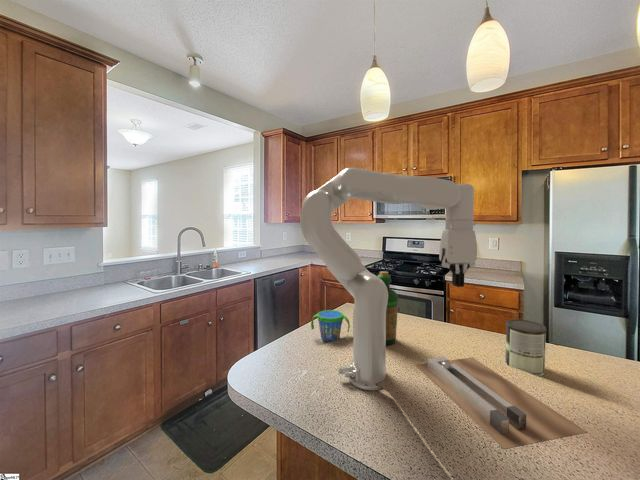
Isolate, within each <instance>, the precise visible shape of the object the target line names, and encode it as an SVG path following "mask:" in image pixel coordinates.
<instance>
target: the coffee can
mask: <svg viewBox="0 0 640 480" xmlns="http://www.w3.org/2000/svg"><path fill="white" fill-rule="evenodd" d="M505 326H506V327H505V328H506V333H505V336H506V338H505V362H504V363H505V365H506V366H508V367H511V368H514V369H517V370H520V371H523V372H525V373H528V374H531V375H534V376H536V377H542V376H544V375H545V373H546V370H545V367H546V341H547V339H546V337H547V331H548V329H547V326H545V325H544V324H542V323H539V322H536V321H532V320H529V319H528V320H527V319H519V318H514V319H512V318H511V319H508V320H506V322H505Z"/></svg>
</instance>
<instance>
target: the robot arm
mask: <svg viewBox="0 0 640 480" xmlns="http://www.w3.org/2000/svg"><path fill="white" fill-rule="evenodd" d="M474 196H475V188H474V186H473V184H469V183H458V184H457V183H455V182H454V181H451V180H449V179H443V178H439V177H431V176H421V175H407V174H397V173H396V174H393V173H389V172H388V173H387V172H380V171H377V170H376V171H375V170H369V169H364V168H360V167H359V168H358V167H346V168H344V169H342V170H341V171H339V173H338V174H336V176H334V177H333V178H332V179H330V180H329V181H327V182H326V183H325V184H323V185H322V186H320V187H319V188H318V189H316V190H312V191H310V192H309V193H308V194H306V196H305V198H304V199H303V201H302V203H301V204H302V205H301V212H300V218H299V219H300V228H301V232H302V234H303V237H304V239H305V241H306V242H307V243H308V246H310V247H311V249H312V250H313V251H314V252H315V254H316V255H317V256H318V257H319V258H320V259H321V260H322V262H323V263H324V264H325V266H326V268H327V270H328V271H329V272H330V273H331V274H332V276H333V277H334V278H336V279H335V280H337V281H338V283H340V284H341V285H342V286H343V288H344V289H345V290H346V292H348V293H349V295H350V296H352V298H353V299H354V302H353V303H354V305H353V313H352V315H353V316H352V330H353V332H352V337H353V338H352V341H353V344H352V345H353V347H352V350H353V353H352V354H353V357H352V358H353V360H352V361H351V360H350V364H349V365H347V366H339V367H337V372H338V373H337V374H338V375H344V378H348V380H349V382H350V384H352V385H353V386H354V387H356V388H358V389H361V390H364V391H380V390H384V387H382V386H380V385H379V384H377V383H380V382H383V381H384V380H385V379H386V376H387V375H386V369H387V367H386V366H387V362H386V361H387V360H386V359H387V351H386V347H387V346H386V308H387V302H388V290H387V287H386V285H385V283H384V282H383V281H382V280H381V279H380V278H379V277H377V276H378V275H376V274H374V273H372V272H370V271H369V270H368V269H367V268H366V266H365V265H364V264H363V263H362V260H361V258H360V256H359V254H358V253H357V252H356V251H355V250H354V249H353V248H352V247H351V245H349V244H348V243H347V242H346V241H345V239H343V237H342V236H341V235H340V233H339V232H338V231H337V230H336V229H335V227H334V226H333V223H332V214H333V212H334V211H335V210H337V209H338V208H339V207H341V206H343V204H344V205H345V204H346V203H347V202H348V201H349V200H351V199H355V200H361V201H368V202H369V201H370V202H376V203H380V204H387V205H402V204H418V205H419V206H420V207H421V208H423V209H425V210H429V211H430V210H431V211H433V210H445V230H442V233H441V238H440V242H439V256H438V258H439V261H440V262H441V267H442V268H445V269H446V268H447V269H448V270H449V271H450V273H452V274H451V275H452V276H451V282H452V286H453V287H457V288H464V287H465V274H467V271H468V270H469V268H471V267H475V266H476V263H475V262H476V261H477V259H478V257H477V256H478V244H477V236H476V232H475V231H476V230H474V227H476V222H475V221H474V208H475V206H474V202H475V199H474V198H475V197H474Z"/></svg>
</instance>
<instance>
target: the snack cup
mask: <svg viewBox="0 0 640 480" xmlns="http://www.w3.org/2000/svg"><path fill="white" fill-rule="evenodd" d="M315 318H317V320H318V328H319V332H320V338H321V339H322V340H323V341H324V342H335V341H338V340H340V337H341V331H342V325H343V320H345V321H346V323H347V333H349V332H350V326H351V325H350V320H349V319H348V317H347V316H346V315H345V314H344V313H343V312H341V311H338V310H334V309H327V310H320V311H318V312H317V313H316V314H315V315H313V317H312V319H311V322H310V328H311V330H314V329H315V326H314V319H315Z"/></svg>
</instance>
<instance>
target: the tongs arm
mask: <svg viewBox="0 0 640 480" xmlns="http://www.w3.org/2000/svg"><path fill="white" fill-rule="evenodd" d="M441 365H442V366H443V367H444V368H445V369H447V370H448V371H449V372H450V373H452V374H453V375H454V376H455V377H457V378H458V379H459V380H460V381H462V382H463V383H464V384H465V385H466V386H468V387H469V388H470V389H471V390H473V391H474V392H475V393H476V394H478V395H479V396H480V397H481V398H483V399H484V400H485V401H486V402H488V403H489V404H490V405H491V406H493V407H494V408H495V409H496V410H497V409H498V410H499V411H500V412H502V413H503V414H504V415H505V416H507V417H508V418H509V423H510V424H511V425H513V426H514V427H515V428H516V429H518V430H521V429H526V414H525V413H524V412H522V411H521V410H520V409H518V408H517V407H515V406H512V405H511V404H510V403H508V402H507V401H505V400H504V399H503V398H501V397H500V396H499V395H497V394H496V393H494V392H493V391H492V390H490V389H489V388H488V387H486V386H485V385H483V384H482V383H481V382H479V381H478V380H476V379H475V378H474V377H472V376H471V375H470V374H468V373H467V372H465V371H464V370H463V369H461V368H460V367H459V366H457V365H456V364H450V363H449V362H447V361H442V362H441Z"/></svg>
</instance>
